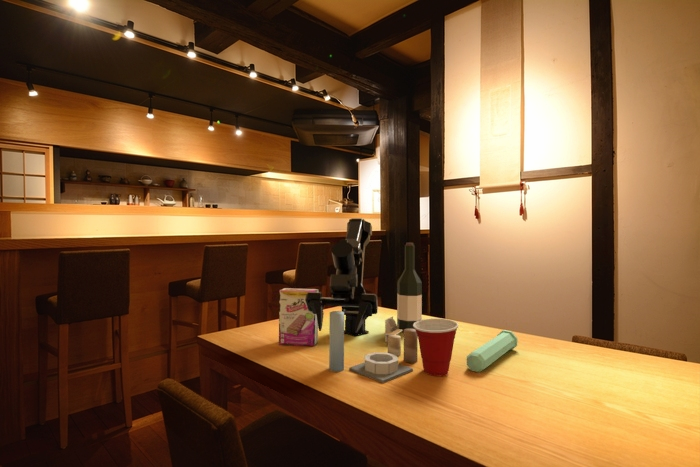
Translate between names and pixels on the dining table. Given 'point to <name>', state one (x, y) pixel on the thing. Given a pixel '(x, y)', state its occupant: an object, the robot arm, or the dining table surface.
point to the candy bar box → (296, 318)
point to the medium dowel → (410, 345)
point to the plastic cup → (436, 344)
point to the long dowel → (336, 341)
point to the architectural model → (391, 328)
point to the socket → (381, 367)
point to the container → (491, 351)
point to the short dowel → (394, 345)
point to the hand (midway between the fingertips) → (337, 331)
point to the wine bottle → (409, 293)
